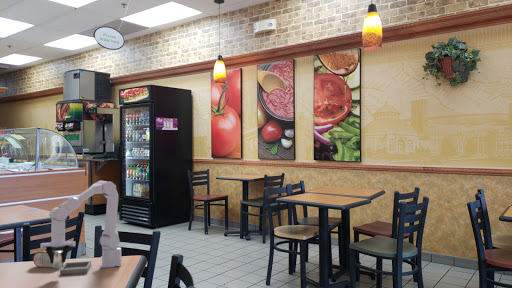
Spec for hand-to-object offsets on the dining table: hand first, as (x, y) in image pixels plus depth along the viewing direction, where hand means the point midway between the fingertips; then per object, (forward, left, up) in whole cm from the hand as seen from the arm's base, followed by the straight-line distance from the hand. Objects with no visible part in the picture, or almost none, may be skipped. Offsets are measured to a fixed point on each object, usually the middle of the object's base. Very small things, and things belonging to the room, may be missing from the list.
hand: (58, 262), depth 180 cm
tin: (+9, -19, -8) cm, 22 cm away
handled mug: (0, 0, -2) cm, 2 cm away
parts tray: (-6, -10, -7) cm, 14 cm away
